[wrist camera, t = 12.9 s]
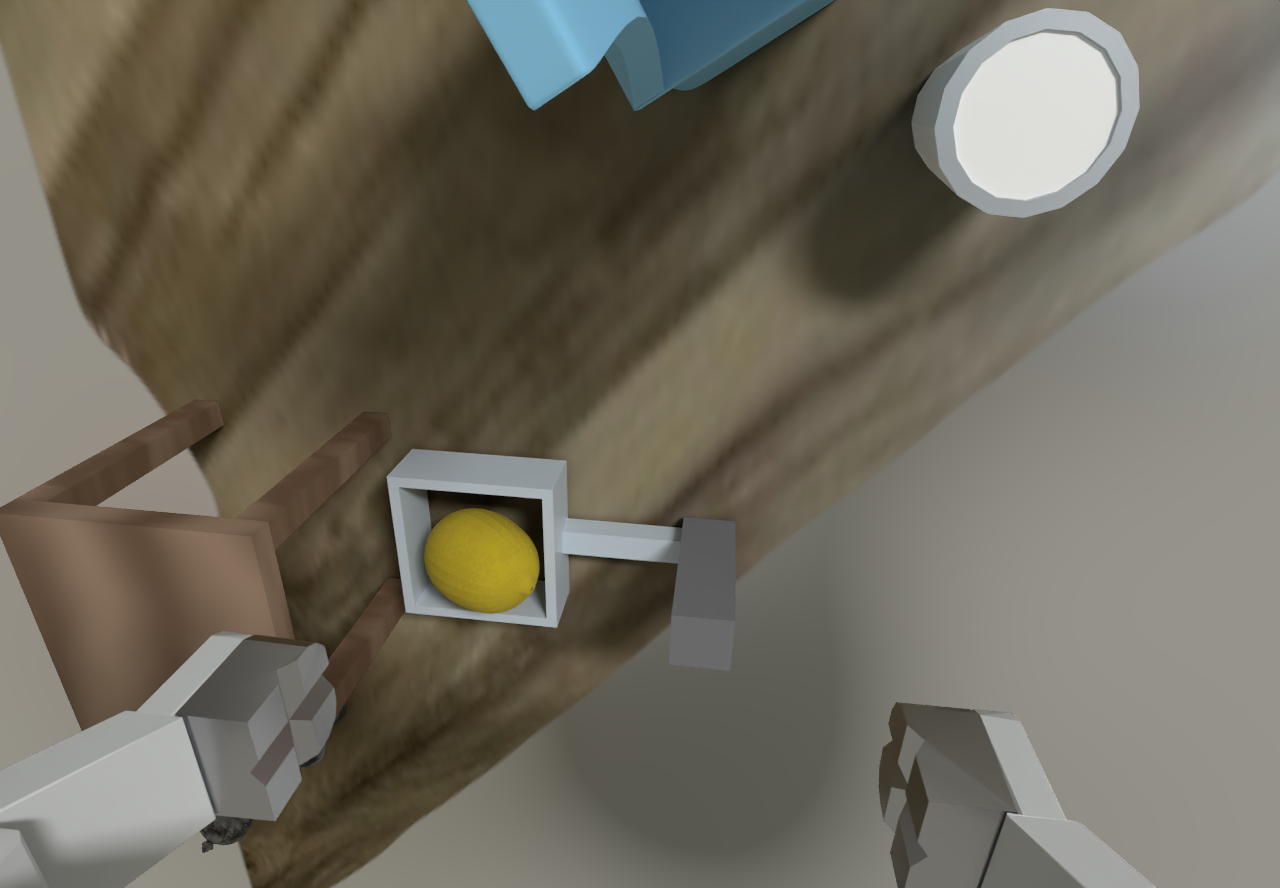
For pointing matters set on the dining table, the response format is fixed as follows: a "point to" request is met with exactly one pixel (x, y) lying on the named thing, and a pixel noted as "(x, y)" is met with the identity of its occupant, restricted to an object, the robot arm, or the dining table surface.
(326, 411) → the dining table surface
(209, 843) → the gray stone ornament
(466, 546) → the lemon
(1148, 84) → the dining table surface
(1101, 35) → the grey white cylinder
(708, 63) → the blue angular vessel
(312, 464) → the tunnel
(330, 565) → the dining table surface
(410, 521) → the slider
